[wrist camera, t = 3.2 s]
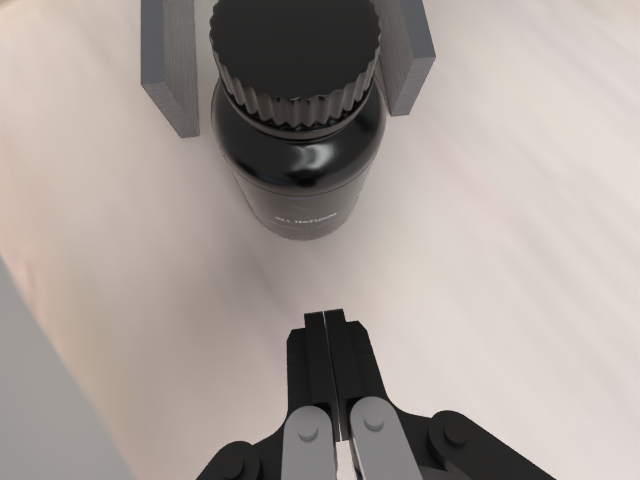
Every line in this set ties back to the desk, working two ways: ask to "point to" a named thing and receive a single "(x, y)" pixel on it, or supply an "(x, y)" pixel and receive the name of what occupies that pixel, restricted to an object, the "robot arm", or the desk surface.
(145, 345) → the desk surface
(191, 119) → the bracket
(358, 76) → the supplement bottle
